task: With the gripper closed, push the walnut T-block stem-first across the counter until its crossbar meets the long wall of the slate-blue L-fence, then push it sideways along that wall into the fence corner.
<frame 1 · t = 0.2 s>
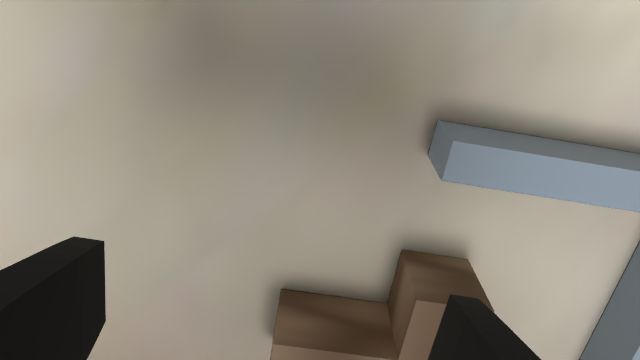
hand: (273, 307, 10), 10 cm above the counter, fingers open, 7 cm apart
walnut tee: (359, 325, 22), on the counter
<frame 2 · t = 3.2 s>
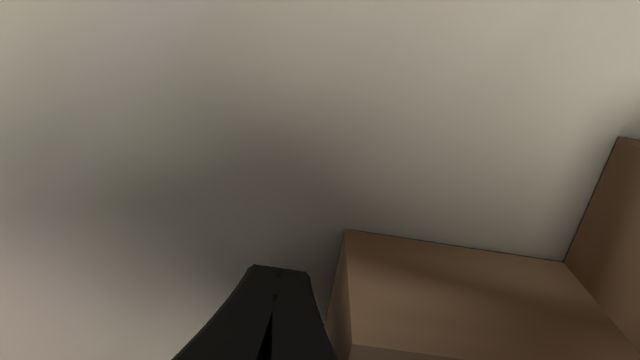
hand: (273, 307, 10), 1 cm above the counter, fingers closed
walnut tee: (499, 309, 11), on the counter, touching gripper
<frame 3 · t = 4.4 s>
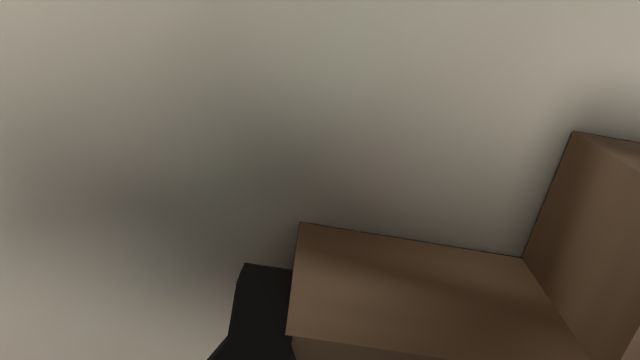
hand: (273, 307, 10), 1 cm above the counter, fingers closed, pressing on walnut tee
walnut tee: (458, 305, 11), on the counter, touching gripper, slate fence
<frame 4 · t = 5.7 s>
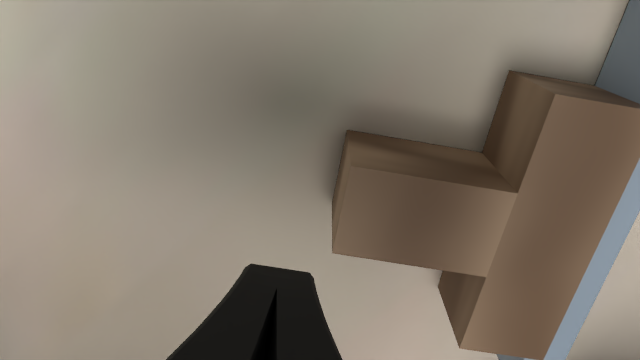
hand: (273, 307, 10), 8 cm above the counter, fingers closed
walnut tee: (444, 185, 17), on the counter
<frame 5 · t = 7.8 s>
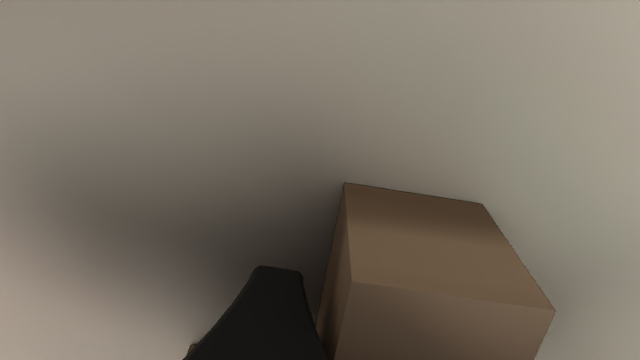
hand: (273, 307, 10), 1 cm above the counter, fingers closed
walnut tee: (375, 338, 11), on the counter, touching gripper
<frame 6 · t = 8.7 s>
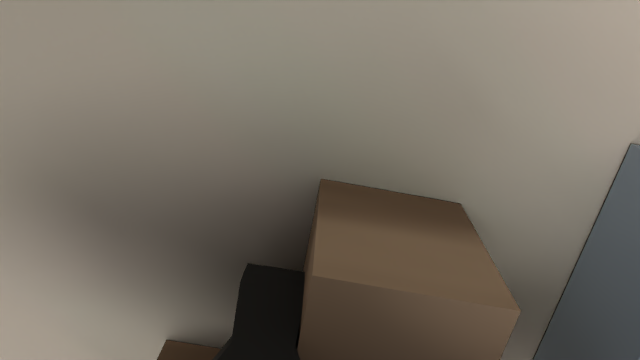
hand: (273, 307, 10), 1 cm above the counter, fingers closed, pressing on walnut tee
walnut tee: (352, 338, 11), on the counter, touching gripper, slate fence
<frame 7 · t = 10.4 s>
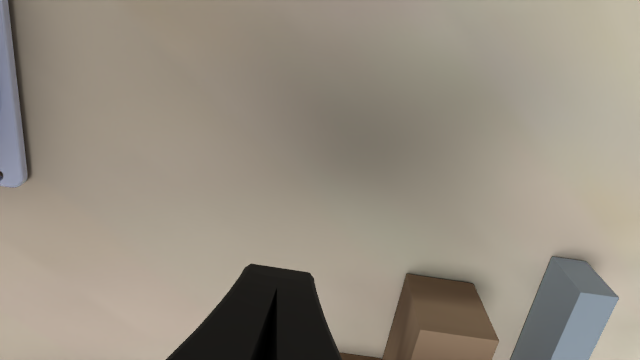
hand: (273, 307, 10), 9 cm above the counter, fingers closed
walnut tee: (417, 347, 22), on the counter
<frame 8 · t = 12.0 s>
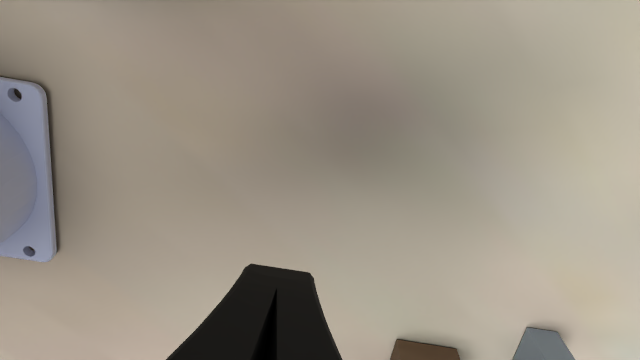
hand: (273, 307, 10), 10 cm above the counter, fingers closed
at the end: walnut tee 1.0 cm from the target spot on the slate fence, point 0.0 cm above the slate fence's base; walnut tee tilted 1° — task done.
